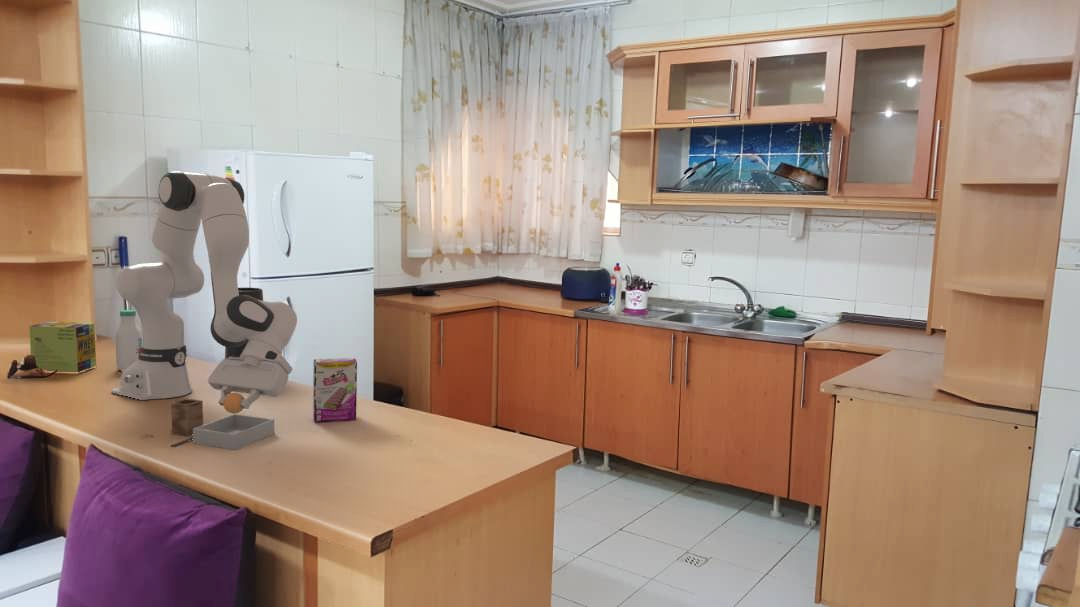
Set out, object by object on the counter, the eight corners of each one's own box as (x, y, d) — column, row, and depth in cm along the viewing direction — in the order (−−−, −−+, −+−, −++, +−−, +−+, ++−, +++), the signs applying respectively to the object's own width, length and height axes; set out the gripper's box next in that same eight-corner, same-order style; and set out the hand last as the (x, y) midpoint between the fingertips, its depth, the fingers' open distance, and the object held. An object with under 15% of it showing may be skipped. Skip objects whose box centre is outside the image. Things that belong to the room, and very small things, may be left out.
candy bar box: (314, 423, 200) (313, 362, 198) (312, 418, 204) (312, 358, 202) (357, 420, 204) (357, 360, 202) (355, 415, 208) (355, 357, 206)
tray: (193, 443, 181) (192, 428, 180) (234, 427, 194) (234, 413, 194) (234, 449, 177) (234, 435, 176) (274, 433, 190) (274, 419, 190)
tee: (172, 433, 187) (171, 403, 186) (187, 428, 192) (186, 398, 191) (188, 436, 186) (187, 405, 185) (203, 430, 190) (202, 400, 189)
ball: (219, 414, 183) (218, 394, 182) (233, 409, 188) (233, 389, 187) (235, 416, 181) (235, 396, 181) (250, 411, 186) (249, 391, 185)
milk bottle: (135, 372, 250) (132, 312, 247) (111, 371, 250) (109, 311, 247) (147, 367, 257) (145, 309, 255) (125, 366, 257) (122, 308, 255)
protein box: (78, 374, 244) (76, 327, 242) (30, 373, 244) (28, 325, 242) (97, 367, 255) (95, 322, 253) (51, 366, 255) (49, 320, 253)
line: (170, 446, 178) (170, 445, 178) (236, 422, 199) (236, 420, 199) (174, 446, 178) (174, 445, 178) (239, 422, 198) (239, 421, 198)
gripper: (219, 348, 193) (191, 394, 185) (286, 355, 186) (260, 403, 178) (232, 362, 197) (205, 408, 189) (298, 369, 191) (273, 417, 183)
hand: (232, 406), depth 184 cm, fingers closed on ball, 5 cm apart
